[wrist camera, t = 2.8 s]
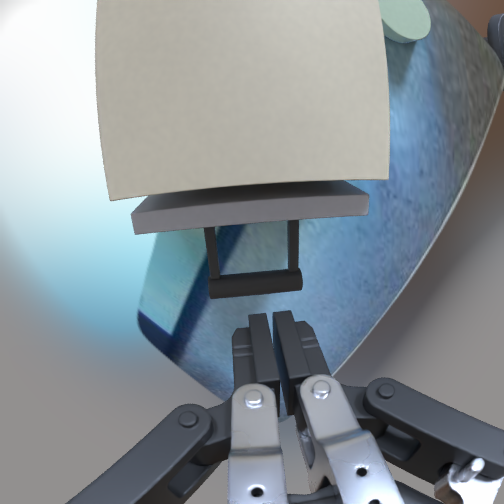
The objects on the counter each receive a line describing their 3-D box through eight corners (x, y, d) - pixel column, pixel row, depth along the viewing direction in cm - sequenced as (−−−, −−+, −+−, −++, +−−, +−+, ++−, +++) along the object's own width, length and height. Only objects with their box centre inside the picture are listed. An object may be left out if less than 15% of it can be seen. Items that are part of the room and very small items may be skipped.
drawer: (324, 252, 24) (357, 302, 17) (174, 266, 23) (157, 322, 17) (316, 9, 15) (354, -30, 9) (148, 18, 15) (116, -21, 8)
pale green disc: (414, -3, 15) (425, -7, 13) (423, 49, 17) (435, 47, 16) (359, -19, 15) (368, -26, 13) (368, 35, 17) (378, 31, 16)
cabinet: (329, 156, 22) (388, 180, 13) (153, 169, 21) (109, 201, 12) (316, -18, 15) (360, -71, 6) (144, -9, 14) (106, -63, 6)
